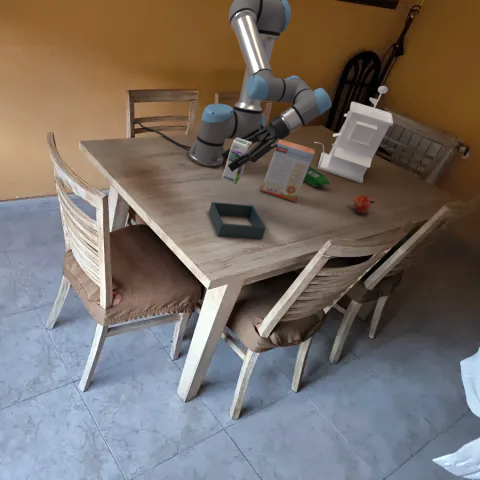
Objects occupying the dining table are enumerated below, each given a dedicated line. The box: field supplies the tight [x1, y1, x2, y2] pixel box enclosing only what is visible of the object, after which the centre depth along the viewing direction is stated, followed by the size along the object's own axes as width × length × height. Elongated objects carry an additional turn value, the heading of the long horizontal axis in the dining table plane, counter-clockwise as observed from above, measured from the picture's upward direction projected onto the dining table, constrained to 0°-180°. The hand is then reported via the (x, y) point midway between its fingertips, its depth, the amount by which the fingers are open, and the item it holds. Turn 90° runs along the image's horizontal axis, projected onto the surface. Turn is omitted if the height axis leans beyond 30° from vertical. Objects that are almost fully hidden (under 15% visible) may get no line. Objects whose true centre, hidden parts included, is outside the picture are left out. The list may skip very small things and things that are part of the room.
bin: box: [208, 201, 267, 240], centre depth 146 cm, size 16×14×4 cm
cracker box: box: [260, 138, 316, 202], centre depth 167 cm, size 14×6×21 cm, turn 71°
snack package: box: [303, 165, 331, 188], centre depth 187 cm, size 7×16×5 cm, turn 35°
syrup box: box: [221, 137, 253, 185], centre depth 149 cm, size 6×6×14 cm
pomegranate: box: [348, 194, 376, 214], centre depth 172 cm, size 7×7×10 cm
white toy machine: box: [313, 85, 394, 184], centre depth 197 cm, size 24×28×40 cm
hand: (226, 162), depth 149 cm, fingers closed on syrup box, 8 cm apart
